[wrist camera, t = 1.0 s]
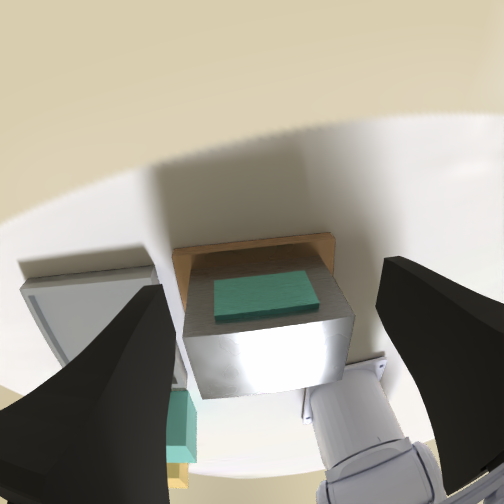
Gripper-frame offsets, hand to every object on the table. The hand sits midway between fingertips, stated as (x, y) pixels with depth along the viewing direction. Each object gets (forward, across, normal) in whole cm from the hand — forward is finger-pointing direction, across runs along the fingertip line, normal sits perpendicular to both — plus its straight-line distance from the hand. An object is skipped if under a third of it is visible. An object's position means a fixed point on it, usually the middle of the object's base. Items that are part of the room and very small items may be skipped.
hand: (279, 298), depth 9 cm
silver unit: (+9, 0, +6) cm, 11 cm away
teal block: (+10, +9, +19) cm, 23 cm away
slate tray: (+9, +12, +9) cm, 18 cm away
